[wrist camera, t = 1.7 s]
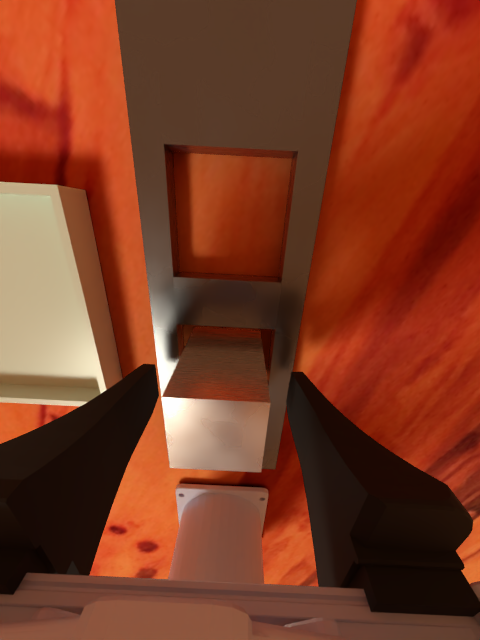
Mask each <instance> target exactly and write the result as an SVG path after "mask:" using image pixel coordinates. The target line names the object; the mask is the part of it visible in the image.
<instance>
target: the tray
mask: <svg viewBox="0 0 480 640" xmlns="http://www.w3.org/2000/svg"><path fill="white" fill-rule="evenodd" d="M122 379H123V378H122V372H121V367H120V362H119V357H118V352H117V347H116V342H115V337H114V332H113V327H112V322H111V317H110V312H109V307H108V302H107V297H106V292H105V287H104V282H103V277H102V272H101V267H100V261H99V256H98V251H97V246H96V241H95V236H94V231H93V226H92V221H91V216H90V211H89V206H88V201H87V196H86V191H85V190H82V189H77V188H71V187H66V186H60V185H50V184H31V183H13V182H0V402H7V403H27V404H46V405H66V406H82V405H84V404H85V403H87V402H89V401H90V400H92V399H93V398H95V397H97V396H98V395H100V394H101V393H103V392H104V391H106V390H107V389H109V388H110V387H112V386H113V385H115V384H116V383H117V382H119V381H120V380H122Z"/></svg>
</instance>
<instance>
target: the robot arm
mask: <svg viewBox="0 0 480 640" xmlns="http://www.w3.org/2000/svg"><path fill="white" fill-rule="evenodd" d="M158 396H159V392H158V384H157V376H156V368H155V365H154V364H143V365H141V366H140V367H138V368H137V369H135V370H134V371H133V372H131V373H130V374H129V375H127V376H126V377H124V378H123V379H122V380H120V381H119V382H117V383H116V384H115V385H113V386H112V387H110V388H109V389H107V390H106V391H104V392H103V393H101V394H100V395H98V396H97V397H95V398H93V399H92V400H90V401H89V402H87V403H85V404H84V405H82V406H80V407H79V408H77V409H75V410H73V411H71V412H69V413H68V414H66V415H64V416H62V417H60V418H58V419H56V420H54V421H52V422H50V423H48V424H46V425H43V426H41V427H39V428H37V429H35V430H33V431H31V432H28V433H26V434H24V435H21V436H19V437H17V438H14V439H12V440H9V441H7V442H4V443H2V444H0V640H480V581H479V582H474V583H471V584H469V583H468V581H467V580H466V578H465V576H464V575H463V573H462V571H461V570H463V569H464V564H463V562H462V560H461V559H460V557H459V556H458V554H457V553H456V549H457V548H458V547H459V546H460V545H461V544H462V543H463V542H464V540H465V539H466V538H467V537H468V536H469V534H470V533H471V531H472V527H473V520H472V518H471V516H470V514H469V513H468V512H467V510H466V509H465V508H464V506H463V505H462V504H461V503H460V501H459V500H458V499H457V497H456V496H455V495H454V493H453V492H452V491H451V489H450V488H449V487H448V486H447V485H446V484H444V483H443V482H441V481H439V480H437V479H436V478H434V477H432V476H430V475H428V474H427V473H425V472H423V471H421V470H420V469H418V468H416V467H414V466H413V465H411V464H409V463H408V462H406V461H405V460H403V459H402V458H400V457H398V456H397V455H395V454H394V453H392V452H391V451H389V450H388V449H386V448H385V447H383V446H382V445H380V444H379V443H378V442H376V441H375V440H374V439H372V438H371V437H369V436H368V435H367V434H365V433H364V432H363V431H362V430H360V429H359V428H358V427H357V426H356V425H354V424H353V423H352V422H351V421H350V420H348V419H347V418H346V417H345V416H344V415H343V414H342V413H341V412H340V411H339V410H338V409H336V408H335V407H334V406H333V405H332V404H331V403H330V402H329V401H328V400H327V399H326V398H325V396H324V395H323V394H322V393H321V392H320V391H319V390H318V389H317V388H316V387H315V385H314V384H313V383H312V382H311V381H310V380H309V379H308V378H307V376H306V375H305V374H304V373H303V372H291V376H290V382H289V387H288V393H287V399H286V404H287V412H288V419H289V423H290V427H291V431H292V435H293V438H294V442H295V446H296V450H297V453H298V457H299V461H300V465H301V469H302V474H303V480H304V486H305V492H306V498H307V504H308V511H309V517H310V524H311V531H312V538H313V546H314V553H315V561H316V569H317V577H318V585H319V587H314V586H293V585H273V584H264V574H263V556H262V531H263V525H264V519H265V514H266V508H267V502H268V496H269V495H268V490H267V489H266V488H261V487H241V486H221V485H201V484H178V485H177V487H176V499H177V509H178V518H179V530H178V535H177V540H176V544H175V549H174V554H173V558H172V563H171V568H170V573H169V577H168V579H148V578H128V577H107V576H89V574H90V571H91V568H92V565H93V561H94V558H95V555H96V552H97V549H98V546H99V542H100V539H101V536H102V533H103V530H104V528H105V525H106V522H107V519H108V516H109V513H110V510H111V507H112V504H113V502H114V499H115V496H116V493H117V491H118V488H119V485H120V483H121V480H122V477H123V475H124V472H125V470H126V467H127V465H128V462H129V460H130V458H131V456H132V454H133V451H134V449H135V447H136V445H137V443H138V441H139V439H140V437H141V435H142V433H143V431H144V429H145V427H146V425H147V423H148V421H149V419H150V417H151V415H152V413H153V410H154V408H155V405H156V402H157V399H158Z"/></svg>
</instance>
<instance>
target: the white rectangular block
mask: <svg viewBox="0 0 480 640" xmlns="http://www.w3.org/2000/svg"><path fill="white" fill-rule="evenodd" d="M162 404H163V413H164V422H165V430H166V439H167V447H168V456H169V464H170V468H183V469H203V470H222V471H242V472H261V469H262V462H263V455H264V447H265V440H266V432H267V425H268V418H269V410H270V395H269V388H268V381H267V374H266V367H265V360H264V353H263V346H262V339H261V332H260V330H250V329H231V328H212V327H194V329H193V331H192V333H191V335H190V337H189V339H188V342H187V344H186V346H185V348H184V350H183V352H182V354H181V357H180V359H179V361H178V363H177V365H176V367H175V370H174V372H173V374H172V376H171V378H170V380H169V382H168V385H167V387H166V389H165V391H164V393H163V395H162Z"/></svg>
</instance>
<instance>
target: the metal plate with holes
mask: <svg viewBox="0 0 480 640" xmlns="http://www.w3.org/2000/svg"><path fill="white" fill-rule="evenodd" d="M356 2H357V0H115V6H116V15H117V23H118V32H119V40H120V49H121V57H122V66H123V74H124V83H125V91H126V100H127V108H128V117H129V125H130V134H131V143H132V151H133V160H134V168H135V177H136V185H137V194H138V202H139V211H140V219H141V228H142V236H143V245H144V253H145V262H146V270H147V279H148V287H149V296H150V304H151V313H152V321H153V330H154V338H155V347H156V355H157V364H158V372H159V381H160V389H161V398H162V395H163V393H164V391H165V389H166V387H167V385H168V382H169V380H170V378H171V376H172V374H173V372H174V370H175V367H176V365H177V363H178V361H179V359H180V357H181V354H182V352H183V350H184V339H183V325H200V326H219V327H238V328H258V329H272V334H271V342H270V351H269V359H268V368H267V381H268V388H269V395H270V410H269V418H268V425H267V432H266V440H265V447H264V455H263V462H262V469H275V468H276V463H277V457H278V451H279V445H280V440H281V434H282V428H283V422H284V416H285V411H286V405H287V404H286V399H287V393H288V387H289V382H290V376H291V372H292V370H293V365H294V359H295V353H296V347H297V342H298V336H299V330H300V324H301V319H302V313H303V307H304V301H305V296H306V290H307V284H308V278H309V273H310V267H311V261H312V255H313V250H314V244H315V238H316V232H317V227H318V221H319V215H320V209H321V204H322V198H323V192H324V186H325V181H326V175H327V169H328V163H329V158H330V152H331V146H332V140H333V135H334V129H335V123H336V117H337V112H338V106H339V100H340V94H341V89H342V83H343V77H344V71H345V66H346V60H347V54H348V48H349V43H350V37H351V31H352V25H353V20H354V14H355V8H356ZM173 152H182V153H200V154H218V155H236V156H255V157H273V158H291V159H292V166H291V174H290V182H289V191H288V199H287V208H286V216H285V224H284V233H283V241H282V250H281V258H280V267H279V275H278V277H266V276H248V275H229V274H210V273H191V272H180V271H179V254H178V237H177V220H176V203H175V186H174V169H173ZM162 406H163V404H162ZM163 415H164V413H163ZM164 423H165V422H164ZM165 432H166V430H165ZM166 440H167V439H166ZM167 449H168V447H167ZM168 457H169V456H168Z"/></svg>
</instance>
